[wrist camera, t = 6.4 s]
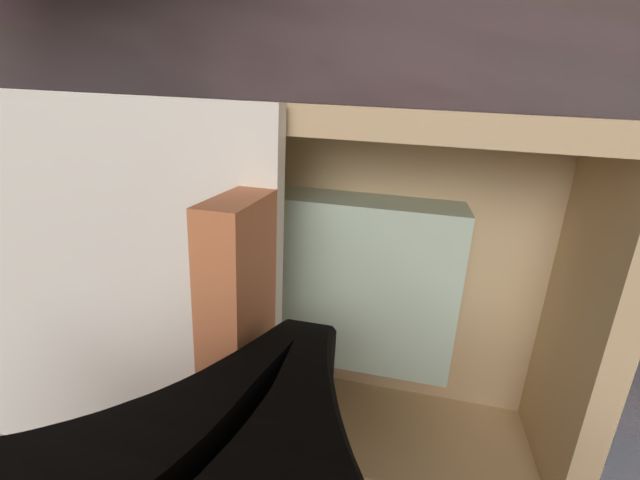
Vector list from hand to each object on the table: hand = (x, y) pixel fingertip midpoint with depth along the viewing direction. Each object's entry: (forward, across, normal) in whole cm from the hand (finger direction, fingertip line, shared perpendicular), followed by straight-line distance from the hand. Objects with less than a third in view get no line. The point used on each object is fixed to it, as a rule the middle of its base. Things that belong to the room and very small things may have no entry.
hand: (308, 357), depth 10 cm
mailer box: (+7, -1, 0) cm, 7 cm away
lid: (+1, +8, 0) cm, 8 cm away
